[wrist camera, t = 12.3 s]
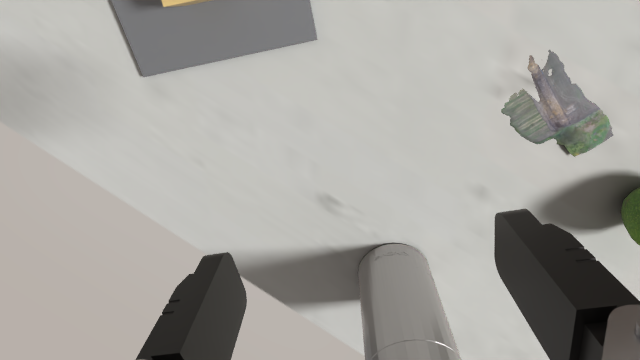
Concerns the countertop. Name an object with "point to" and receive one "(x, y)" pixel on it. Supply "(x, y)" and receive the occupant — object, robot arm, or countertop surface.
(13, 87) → the countertop surface
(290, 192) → the countertop surface
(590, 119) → the grey-green jagged piece
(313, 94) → the countertop surface
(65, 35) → the countertop surface
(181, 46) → the mat
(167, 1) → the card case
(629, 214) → the avocado
